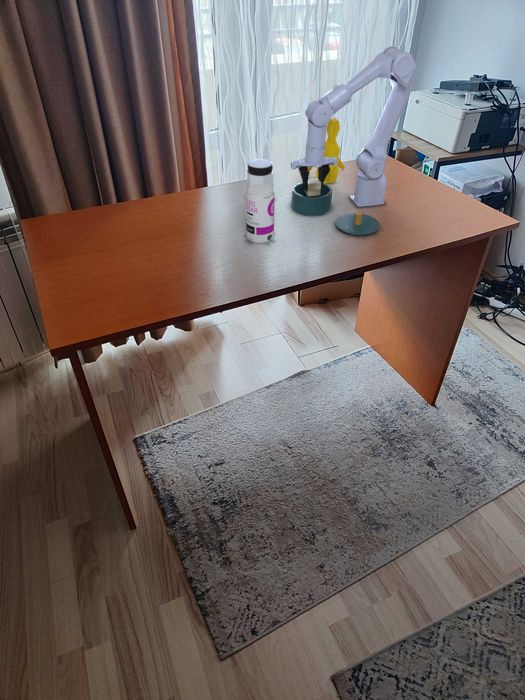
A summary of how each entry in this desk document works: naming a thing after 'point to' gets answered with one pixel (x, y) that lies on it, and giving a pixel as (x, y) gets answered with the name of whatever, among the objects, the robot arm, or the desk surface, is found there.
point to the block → (313, 187)
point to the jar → (260, 172)
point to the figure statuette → (331, 151)
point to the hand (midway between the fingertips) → (312, 188)
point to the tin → (311, 201)
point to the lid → (357, 224)
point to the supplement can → (260, 213)
